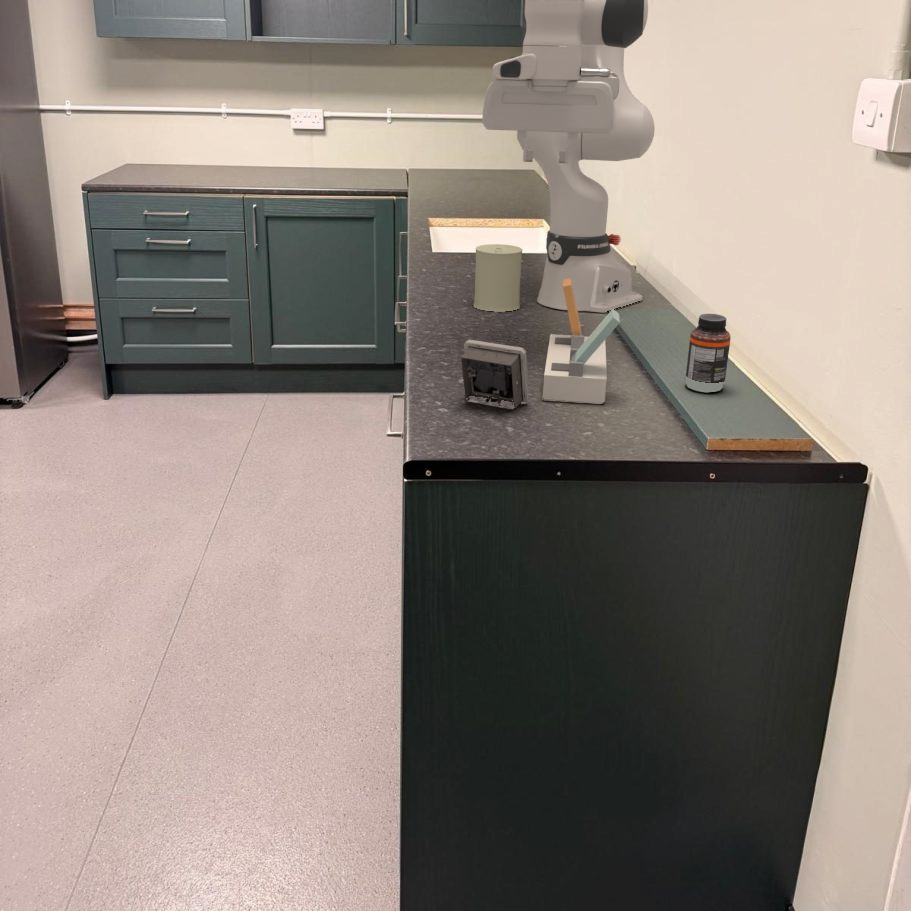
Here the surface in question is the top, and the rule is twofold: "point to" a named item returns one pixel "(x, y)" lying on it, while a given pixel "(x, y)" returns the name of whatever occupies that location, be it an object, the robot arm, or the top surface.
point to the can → (497, 277)
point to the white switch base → (574, 371)
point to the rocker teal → (597, 337)
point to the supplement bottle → (708, 350)
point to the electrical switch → (495, 371)
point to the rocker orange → (572, 307)
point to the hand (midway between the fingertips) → (545, 162)
